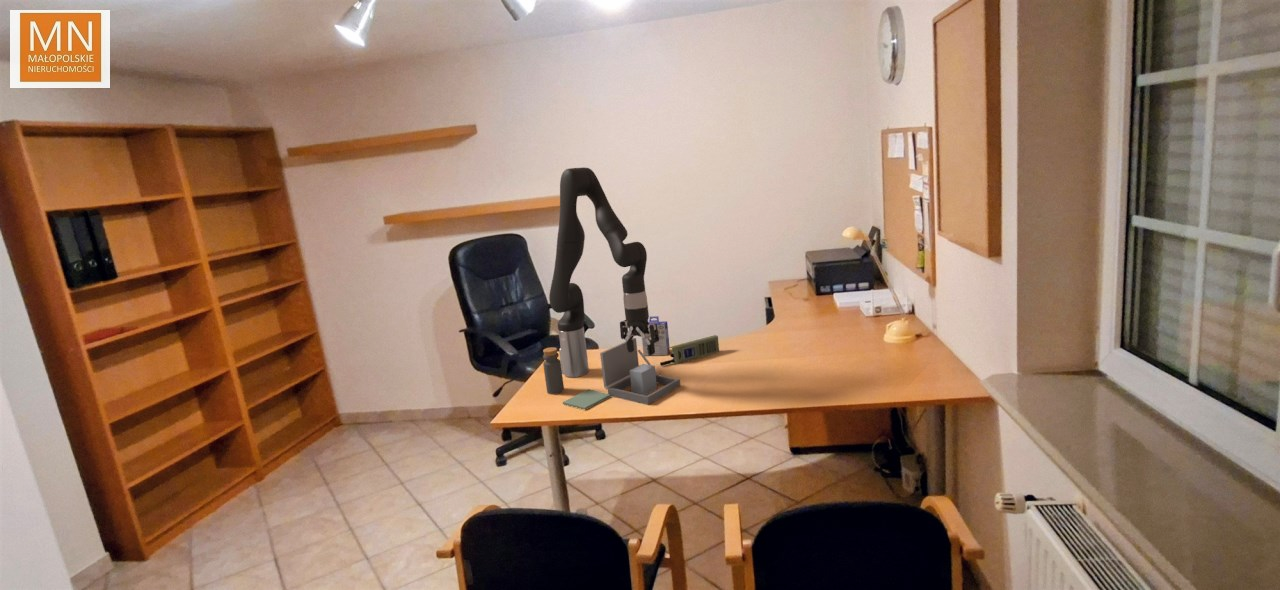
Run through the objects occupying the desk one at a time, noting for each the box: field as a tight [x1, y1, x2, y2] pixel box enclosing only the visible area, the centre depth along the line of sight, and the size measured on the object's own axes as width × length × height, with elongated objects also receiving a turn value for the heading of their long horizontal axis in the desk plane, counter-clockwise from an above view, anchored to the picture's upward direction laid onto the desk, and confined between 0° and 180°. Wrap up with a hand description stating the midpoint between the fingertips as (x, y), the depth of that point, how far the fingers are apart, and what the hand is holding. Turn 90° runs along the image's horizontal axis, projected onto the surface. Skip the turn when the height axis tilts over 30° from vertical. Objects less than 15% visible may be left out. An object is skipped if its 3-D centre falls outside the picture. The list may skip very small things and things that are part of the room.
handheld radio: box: [659, 334, 720, 367], centre depth 234 cm, size 7×3×25 cm
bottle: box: [542, 347, 565, 395], centre depth 214 cm, size 6×6×15 cm
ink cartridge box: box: [641, 315, 671, 357], centre depth 243 cm, size 10×6×14 cm, turn 79°
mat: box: [562, 388, 612, 410], centre depth 205 cm, size 10×12×1 cm
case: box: [599, 337, 681, 406], centre depth 207 cm, size 18×18×14 cm
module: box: [630, 363, 658, 396], centre depth 207 cm, size 5×7×8 cm
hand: (641, 353), depth 205 cm, fingers open, 8 cm apart
